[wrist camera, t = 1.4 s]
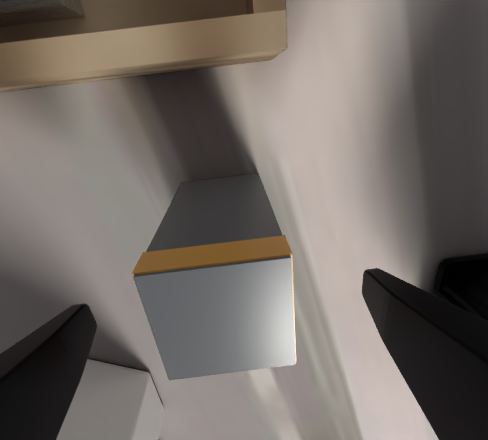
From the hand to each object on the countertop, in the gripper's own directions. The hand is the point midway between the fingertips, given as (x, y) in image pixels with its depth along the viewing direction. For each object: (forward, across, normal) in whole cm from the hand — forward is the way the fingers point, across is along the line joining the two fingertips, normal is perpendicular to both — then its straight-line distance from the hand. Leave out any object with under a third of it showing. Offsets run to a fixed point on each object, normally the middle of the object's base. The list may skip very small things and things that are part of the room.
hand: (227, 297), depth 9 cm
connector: (+7, 0, 0) cm, 7 cm away
